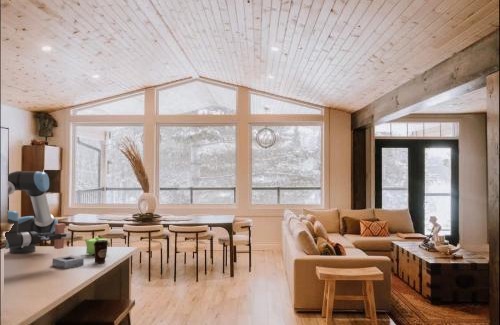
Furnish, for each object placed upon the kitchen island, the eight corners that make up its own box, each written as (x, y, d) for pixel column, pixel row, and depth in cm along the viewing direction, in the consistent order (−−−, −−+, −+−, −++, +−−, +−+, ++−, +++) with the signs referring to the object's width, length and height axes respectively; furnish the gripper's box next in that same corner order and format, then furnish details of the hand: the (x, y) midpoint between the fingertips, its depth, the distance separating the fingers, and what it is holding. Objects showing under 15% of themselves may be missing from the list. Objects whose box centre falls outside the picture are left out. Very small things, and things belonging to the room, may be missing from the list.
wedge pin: (52, 248, 229) (54, 224, 229) (61, 247, 233) (62, 223, 234) (56, 249, 227) (57, 224, 227) (64, 248, 231) (65, 223, 232)
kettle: (89, 257, 255) (90, 240, 255) (80, 253, 265) (81, 237, 265) (111, 254, 265) (112, 237, 266) (102, 251, 275) (102, 235, 276)
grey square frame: (52, 265, 231) (52, 258, 231) (71, 261, 241) (71, 255, 241) (64, 268, 225) (64, 261, 225) (83, 265, 235) (83, 258, 235)
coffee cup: (110, 261, 246) (111, 240, 246) (101, 264, 238) (102, 242, 238) (99, 260, 249) (100, 239, 249) (89, 262, 241) (90, 241, 241)
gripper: (19, 243, 220) (59, 238, 239) (35, 247, 211) (76, 242, 230) (20, 230, 220) (60, 226, 240) (36, 233, 211) (76, 229, 230)
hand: (68, 234), depth 235 cm, fingers closed on wedge pin, 4 cm apart
